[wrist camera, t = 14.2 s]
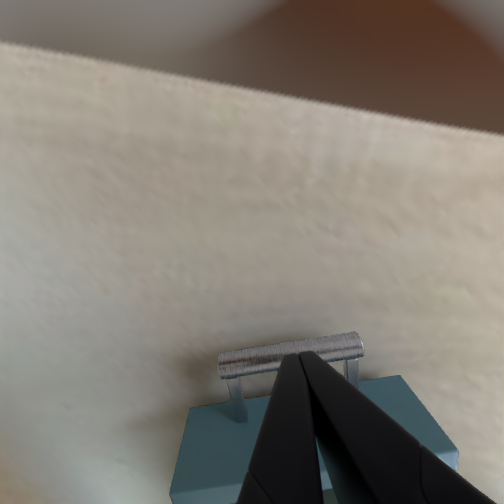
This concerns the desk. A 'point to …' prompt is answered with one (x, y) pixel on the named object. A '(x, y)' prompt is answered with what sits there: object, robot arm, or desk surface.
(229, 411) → the drawer
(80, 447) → the desk surface
